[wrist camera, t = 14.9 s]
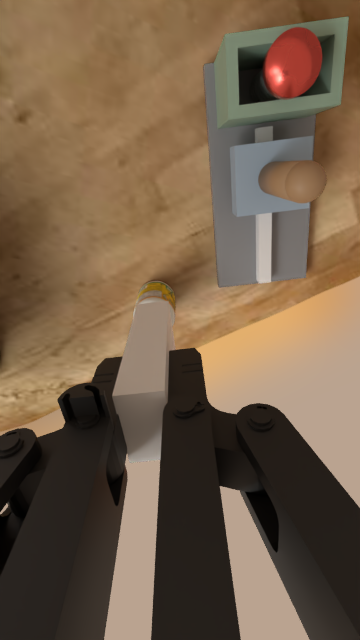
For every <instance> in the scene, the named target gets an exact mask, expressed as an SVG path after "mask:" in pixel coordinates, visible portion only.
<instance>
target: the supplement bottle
mask: <svg viewBox="0 0 360 640" xmlns="http://www.w3.org/2000/svg"><path fill="white" fill-rule="evenodd" d="M161 301H169V308H170V315H171V322H172V326H173V324H174V322H175V295H174V292H173V290H172V289H171V288H170V287H169V286H168V285H167V284H166V283H164V282H161V281H151V282H148V283H146V284H145V285H144V286H143V287H142V288H141V289H140V291H139V294H138V297H137V301H136V305H135V308H134V313H135V309H136V306H137V304H144V303H153V302H161ZM134 313H133V317H134Z"/></svg>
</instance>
